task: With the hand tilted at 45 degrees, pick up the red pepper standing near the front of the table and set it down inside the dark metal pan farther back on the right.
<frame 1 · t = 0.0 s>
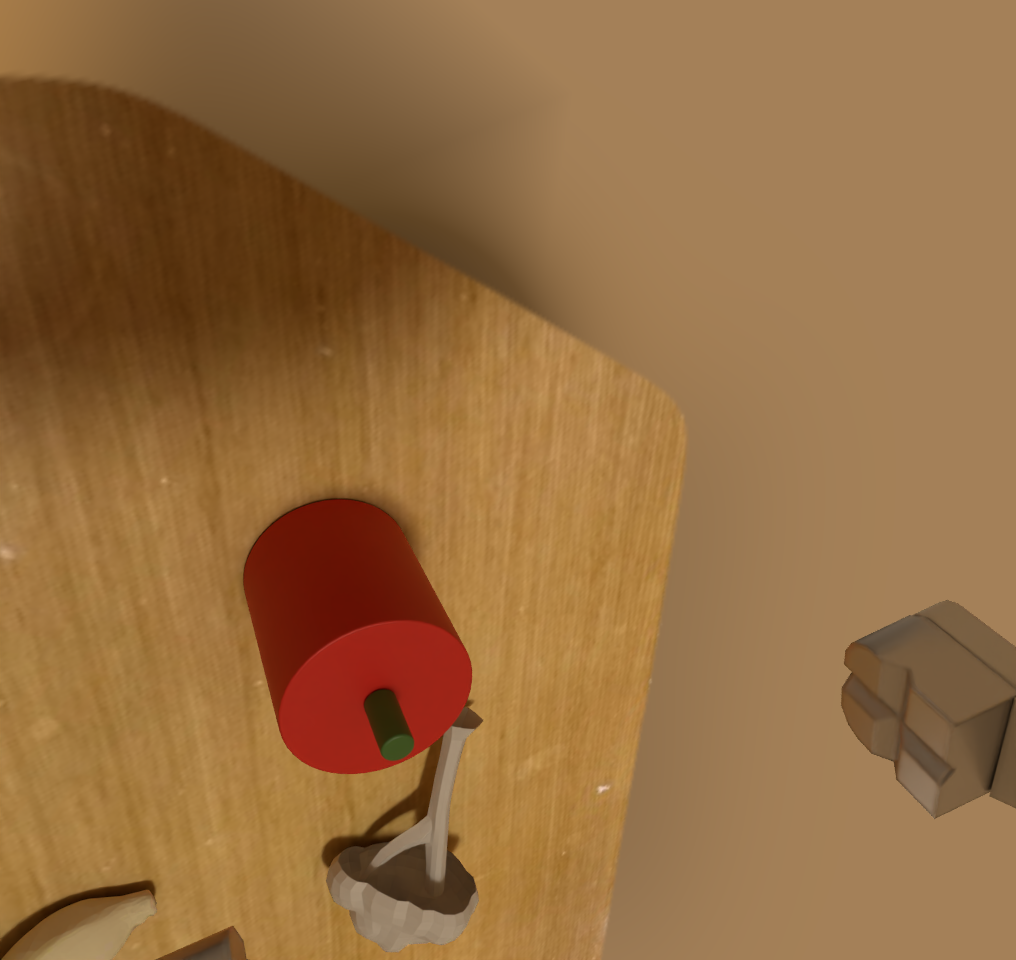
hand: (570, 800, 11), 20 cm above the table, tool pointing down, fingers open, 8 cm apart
mushroom: (408, 799, 41), on the table
pepper: (328, 569, 33), on the table
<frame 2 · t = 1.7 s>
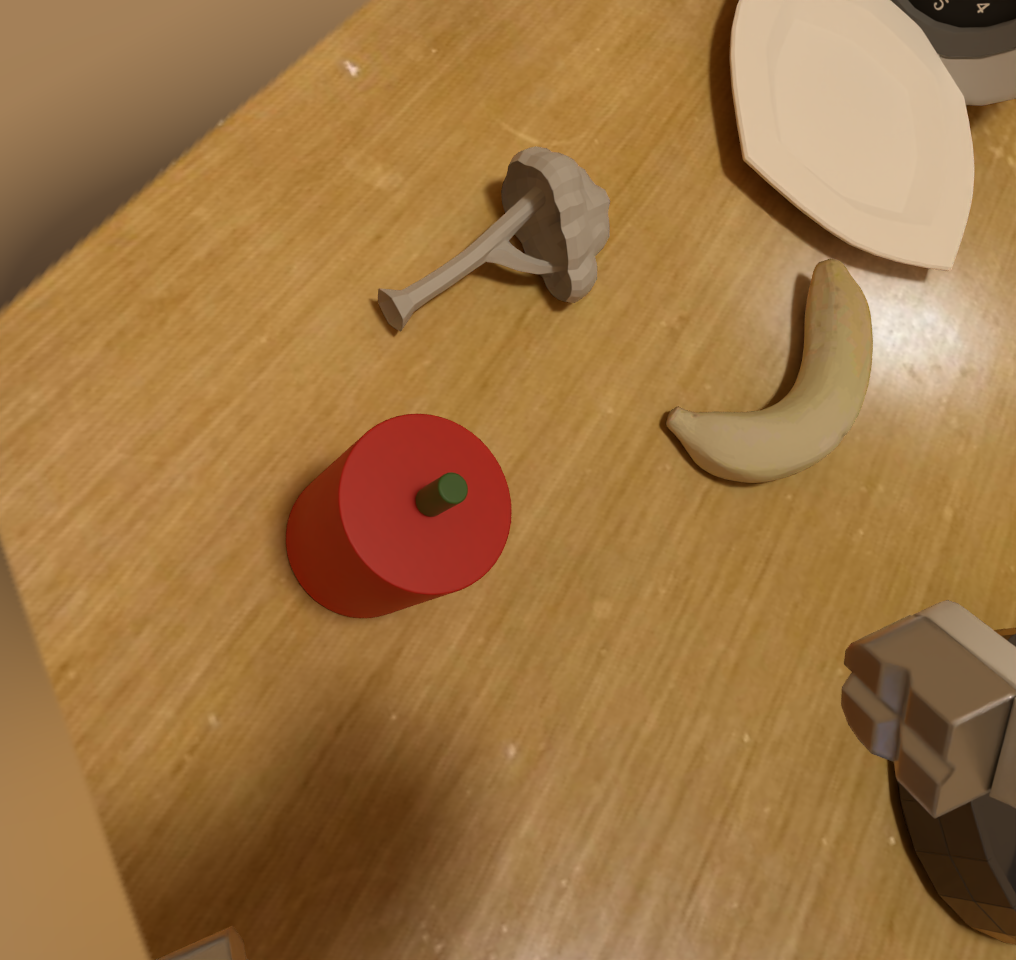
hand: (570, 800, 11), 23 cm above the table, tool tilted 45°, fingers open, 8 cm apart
alarm clock: (889, 2, 61), on the table, touching plate
mushroom: (484, 271, 41), on the table
pepper: (362, 540, 35), on the table
fruit: (764, 377, 47), on the table
plate: (835, 126, 55), on the table, touching alarm clock
pan: (991, 779, 47), on the table
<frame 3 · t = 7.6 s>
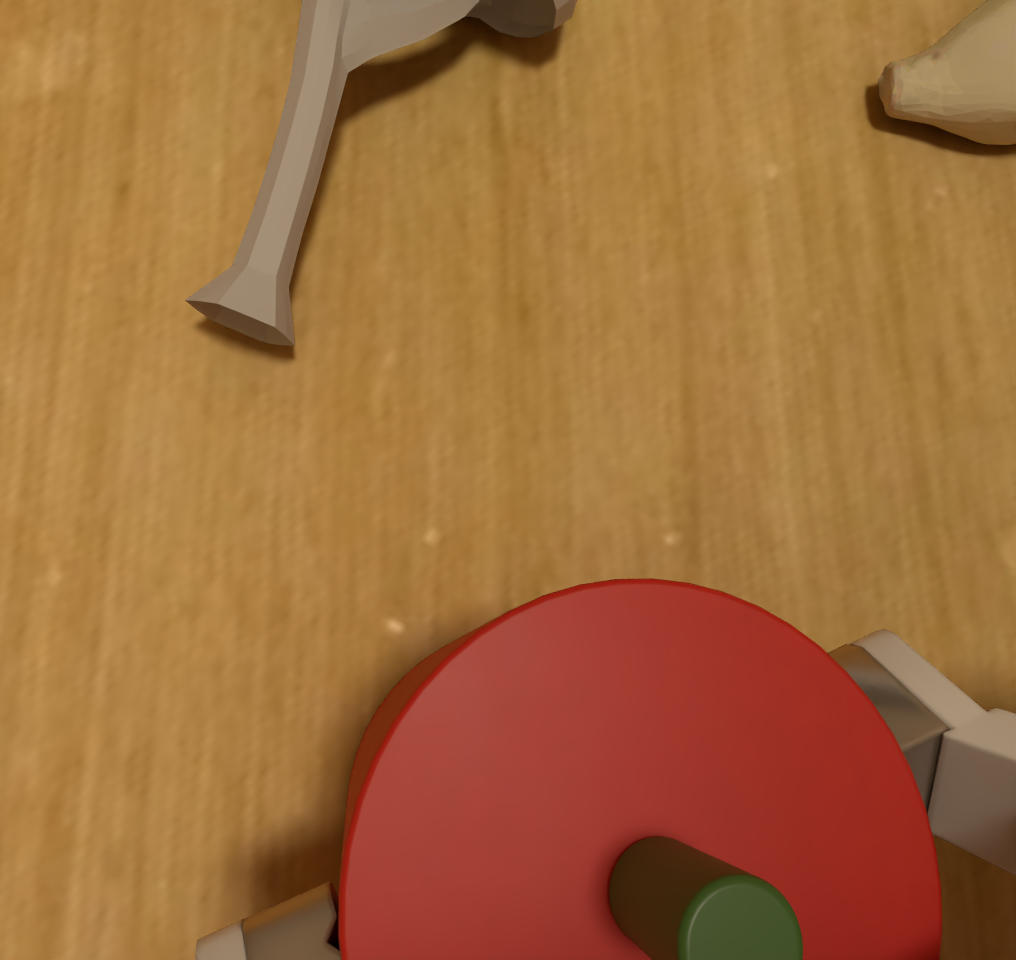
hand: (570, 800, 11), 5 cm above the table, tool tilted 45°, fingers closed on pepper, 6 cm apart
mushroom: (365, 94, 18), on the table
pepper: (525, 804, 15), on the table, touching gripper
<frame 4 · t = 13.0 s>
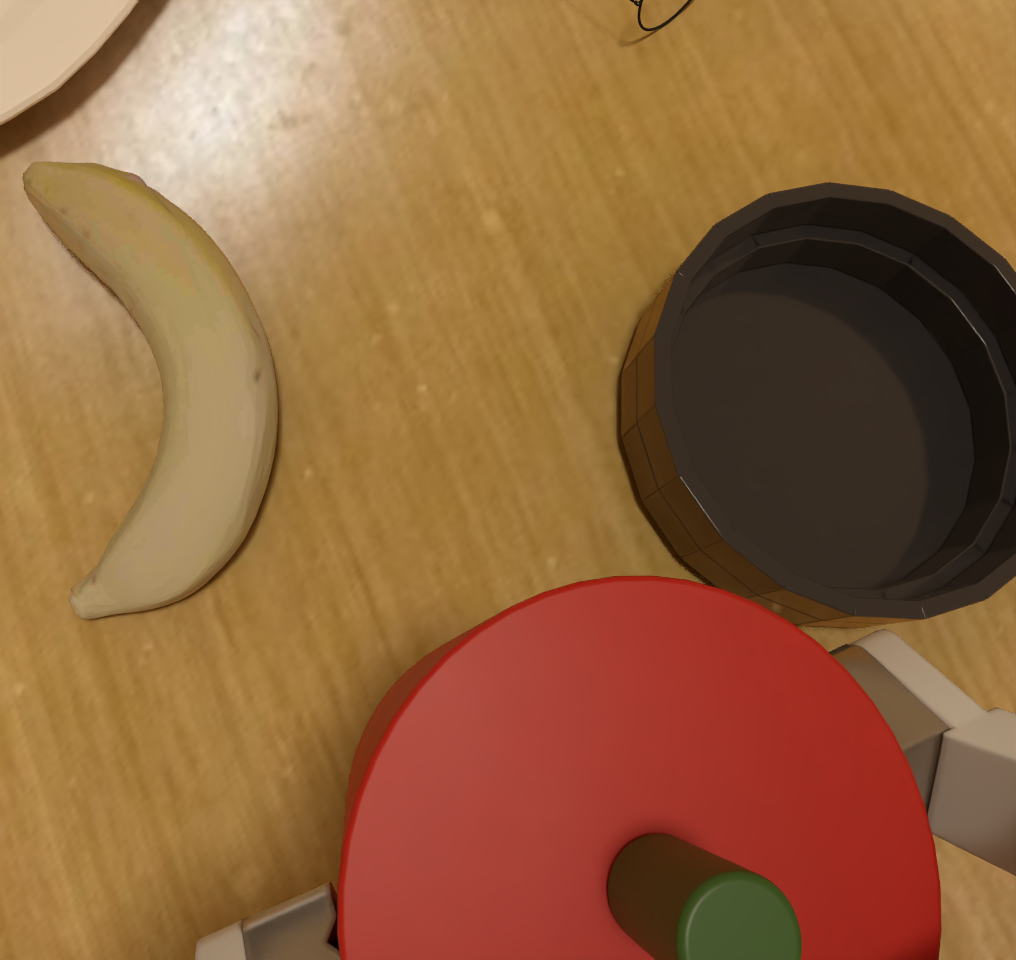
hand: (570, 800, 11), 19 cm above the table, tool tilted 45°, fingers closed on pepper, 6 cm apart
pepper: (524, 802, 15), point 15 cm above the table, touching gripper
fruit: (140, 385, 31), on the table
pan: (808, 427, 34), on the table
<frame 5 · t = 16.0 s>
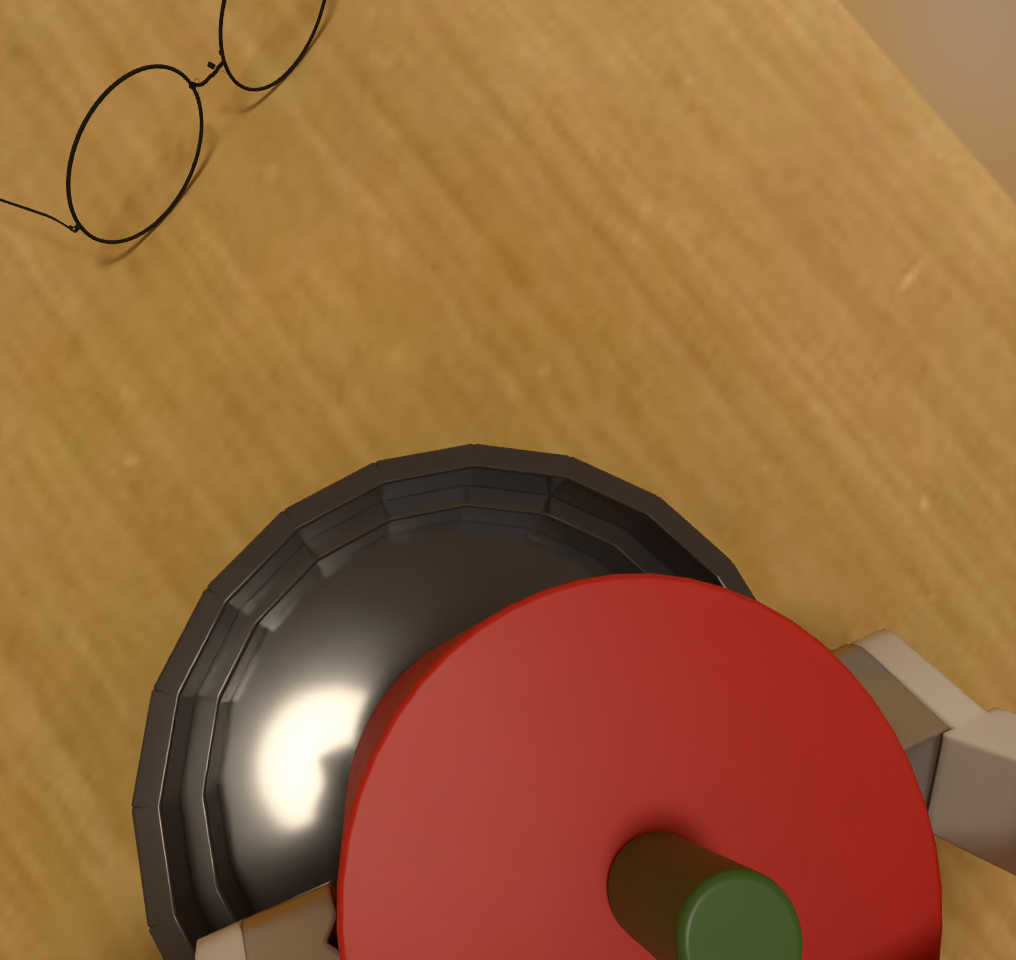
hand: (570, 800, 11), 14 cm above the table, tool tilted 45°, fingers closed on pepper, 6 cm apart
pepper: (524, 801, 15), point 9 cm above the table, touching gripper
pan: (471, 760, 24), on the table
eyeglasses: (84, 44, 28), on the table
when the fingers open (5 cm above the table, at t = 18.6 s): pepper stays where it is, resting on pan.
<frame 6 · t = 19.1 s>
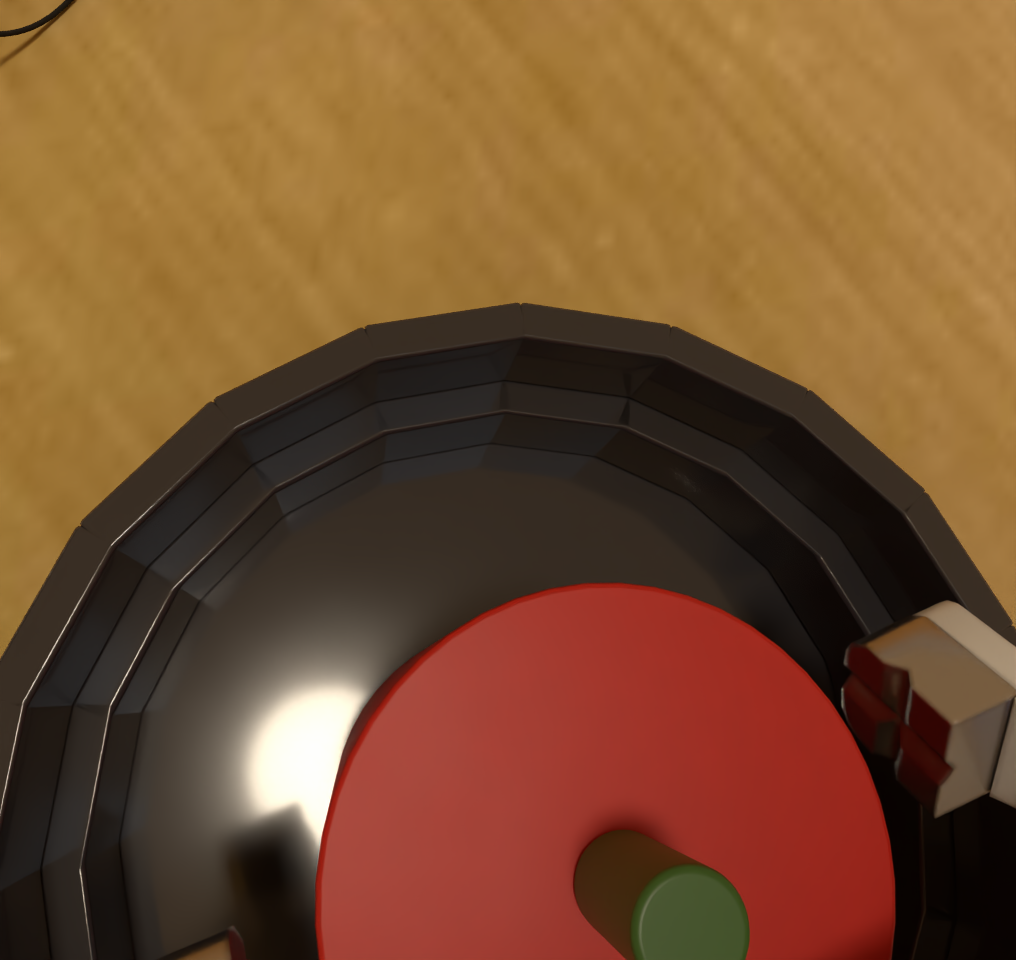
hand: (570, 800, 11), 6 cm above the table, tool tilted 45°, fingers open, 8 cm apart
pepper: (507, 801, 16), point 1 cm above the table, touching pan
pan: (508, 799, 16), on the table
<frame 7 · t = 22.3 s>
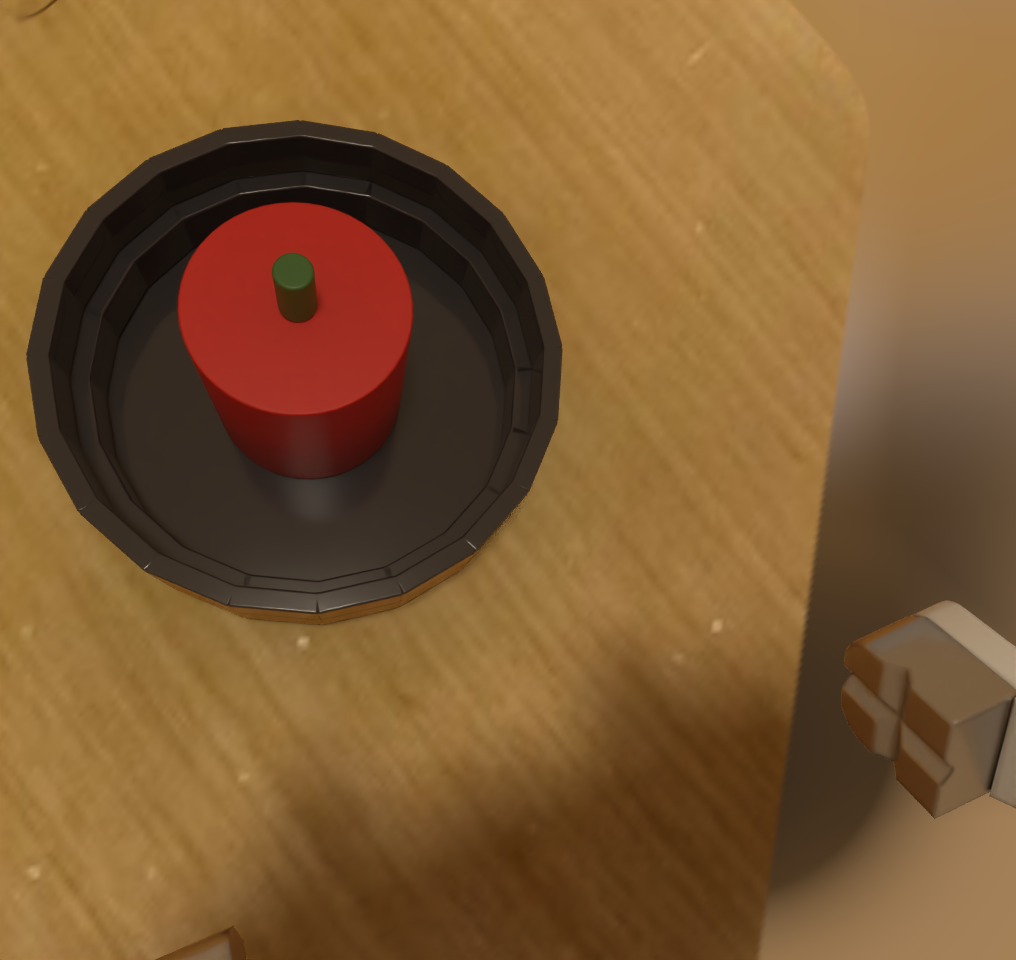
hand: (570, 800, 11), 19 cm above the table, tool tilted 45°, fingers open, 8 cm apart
pepper: (310, 392, 30), point 1 cm above the table, touching pan
pan: (314, 399, 31), on the table
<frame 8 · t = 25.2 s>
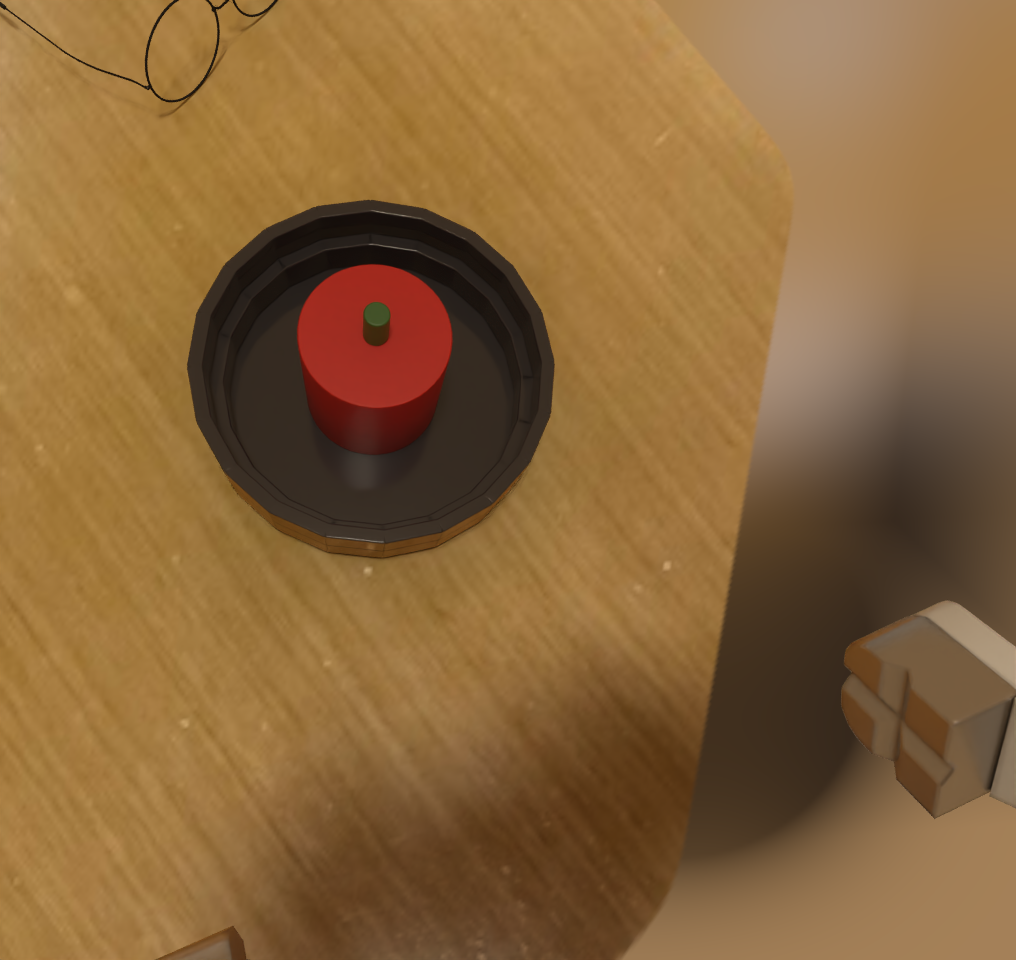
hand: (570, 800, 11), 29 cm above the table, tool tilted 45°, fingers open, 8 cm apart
pepper: (372, 392, 42), point 1 cm above the table, touching pan
pan: (375, 397, 42), on the table
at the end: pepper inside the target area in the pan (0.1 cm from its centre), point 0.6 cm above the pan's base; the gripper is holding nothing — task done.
